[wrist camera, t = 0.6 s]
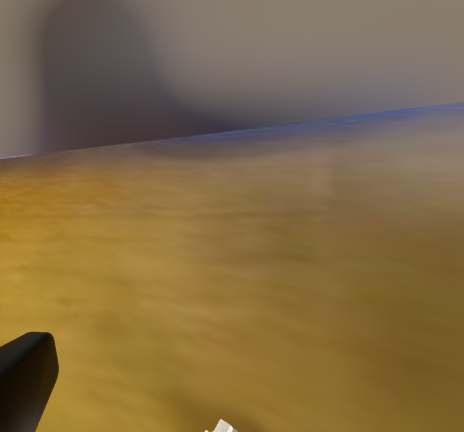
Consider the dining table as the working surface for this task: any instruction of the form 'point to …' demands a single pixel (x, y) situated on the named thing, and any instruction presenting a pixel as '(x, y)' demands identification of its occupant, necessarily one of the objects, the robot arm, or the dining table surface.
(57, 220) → the dining table surface
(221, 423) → the chess piece
